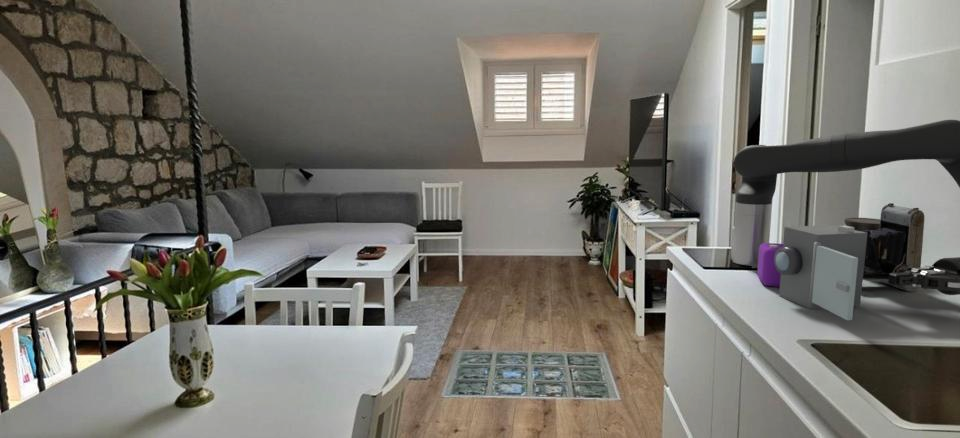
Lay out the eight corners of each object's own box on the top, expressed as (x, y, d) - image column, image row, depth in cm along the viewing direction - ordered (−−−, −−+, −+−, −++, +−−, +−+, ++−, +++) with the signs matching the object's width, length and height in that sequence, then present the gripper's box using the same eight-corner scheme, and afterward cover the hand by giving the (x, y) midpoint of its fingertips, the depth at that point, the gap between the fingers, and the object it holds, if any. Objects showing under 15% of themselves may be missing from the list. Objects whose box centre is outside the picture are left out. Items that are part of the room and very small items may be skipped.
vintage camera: (829, 284, 145) (835, 205, 142) (888, 281, 146) (895, 202, 143) (857, 296, 136) (864, 211, 132) (920, 292, 137) (928, 208, 133)
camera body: (768, 296, 133) (774, 222, 131) (825, 293, 136) (831, 220, 133) (799, 309, 124) (806, 230, 121) (860, 305, 126) (868, 228, 124)
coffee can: (890, 279, 148) (896, 224, 146) (843, 275, 152) (848, 222, 150) (880, 270, 158) (886, 218, 155) (836, 267, 162) (841, 216, 159)
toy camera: (789, 275, 152) (792, 238, 151) (813, 290, 139) (816, 248, 137) (745, 274, 153) (748, 237, 152) (765, 289, 140) (768, 248, 138)
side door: (813, 302, 124) (818, 242, 122) (852, 322, 111) (859, 255, 109) (805, 302, 124) (810, 242, 122) (843, 322, 111) (850, 255, 109)
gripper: (936, 250, 125) (866, 254, 122) (1001, 264, 112) (924, 269, 109) (933, 284, 126) (862, 289, 123) (996, 302, 114) (919, 307, 111)
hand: (891, 279), depth 116 cm, fingers closed
